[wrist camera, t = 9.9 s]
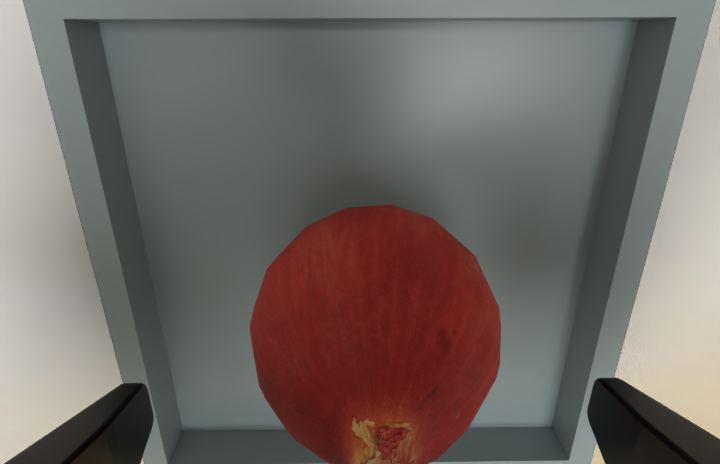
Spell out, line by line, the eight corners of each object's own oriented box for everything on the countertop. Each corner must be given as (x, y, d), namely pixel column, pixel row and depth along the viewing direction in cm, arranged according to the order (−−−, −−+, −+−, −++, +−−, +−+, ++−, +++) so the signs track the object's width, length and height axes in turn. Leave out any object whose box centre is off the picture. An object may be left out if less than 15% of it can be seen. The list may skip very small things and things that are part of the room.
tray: (652, -10, 12) (722, -23, 10) (557, 422, 18) (587, 476, 16) (81, -8, 12) (17, -22, 10) (175, 426, 18) (148, 481, 16)
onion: (486, 296, 15) (619, 546, 7) (331, 360, 16) (311, 638, 8) (418, 138, 13) (506, 262, 5) (244, 221, 14) (114, 426, 6)
